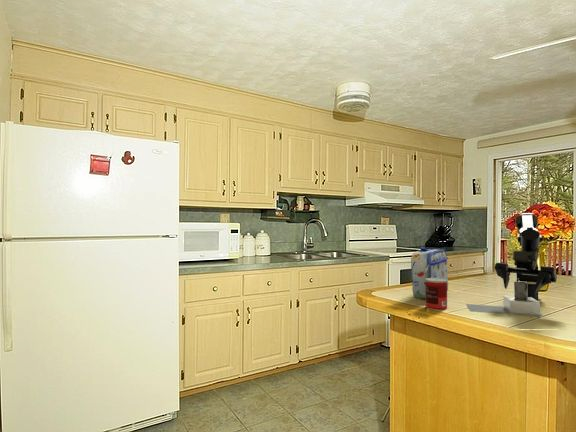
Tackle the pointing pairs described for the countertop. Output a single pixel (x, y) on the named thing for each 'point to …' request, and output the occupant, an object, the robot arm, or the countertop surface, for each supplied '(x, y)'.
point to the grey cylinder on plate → (521, 301)
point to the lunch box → (427, 269)
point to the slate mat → (493, 309)
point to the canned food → (436, 293)
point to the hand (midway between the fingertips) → (519, 289)
